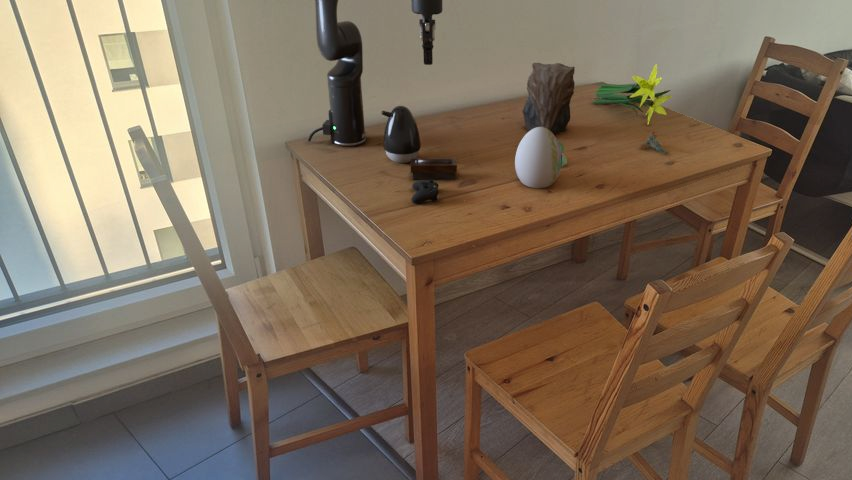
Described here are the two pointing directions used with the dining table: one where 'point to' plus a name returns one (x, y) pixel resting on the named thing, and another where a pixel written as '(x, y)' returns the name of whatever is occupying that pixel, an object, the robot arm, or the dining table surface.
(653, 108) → the daffodil flowers
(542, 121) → the owl
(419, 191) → the game controller
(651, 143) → the dragon figurine
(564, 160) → the seedling
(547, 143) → the decorative egg
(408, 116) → the pump dispenser
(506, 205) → the dining table surface
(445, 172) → the scrub brush
